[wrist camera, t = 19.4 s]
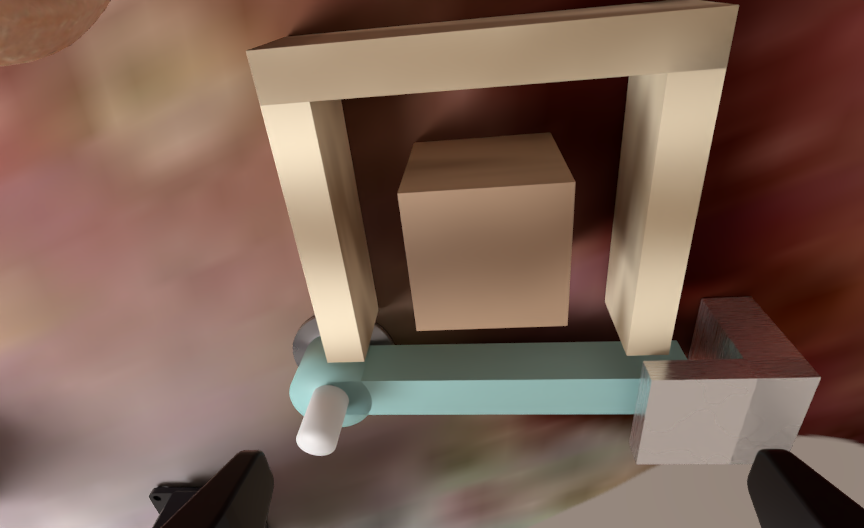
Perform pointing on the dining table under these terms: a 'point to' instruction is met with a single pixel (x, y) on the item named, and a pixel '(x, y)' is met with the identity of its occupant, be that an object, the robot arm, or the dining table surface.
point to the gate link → (463, 383)
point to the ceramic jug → (43, 26)
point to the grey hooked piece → (706, 389)
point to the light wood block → (488, 232)
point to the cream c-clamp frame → (492, 67)
